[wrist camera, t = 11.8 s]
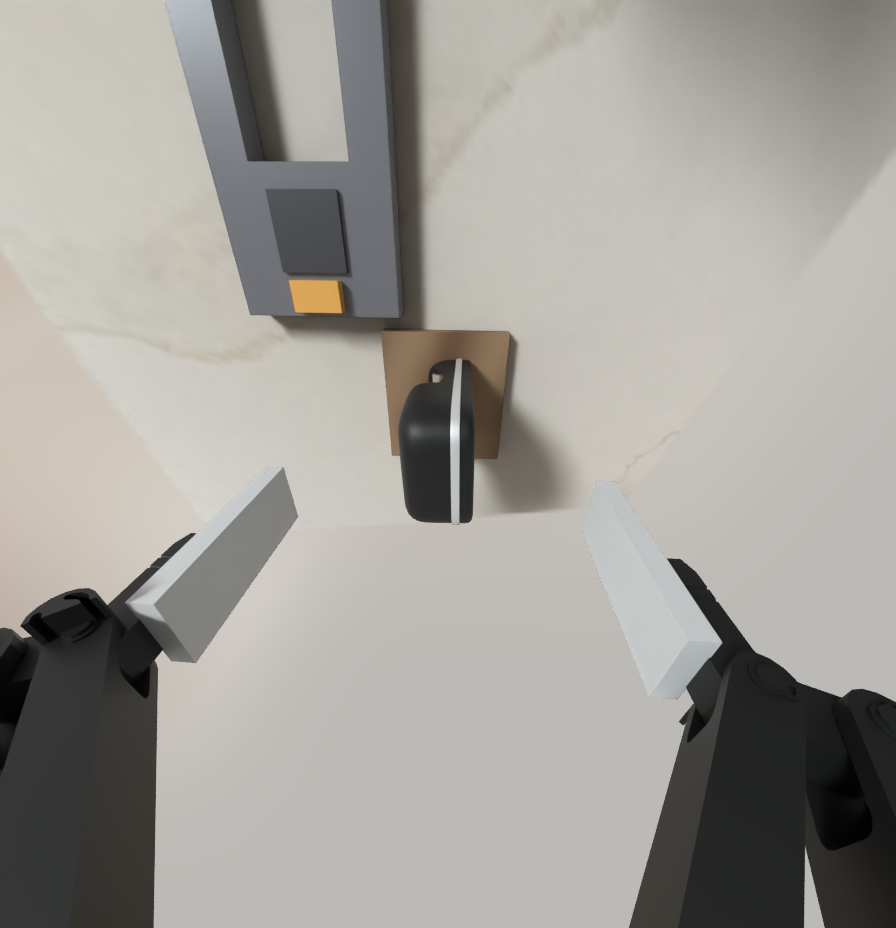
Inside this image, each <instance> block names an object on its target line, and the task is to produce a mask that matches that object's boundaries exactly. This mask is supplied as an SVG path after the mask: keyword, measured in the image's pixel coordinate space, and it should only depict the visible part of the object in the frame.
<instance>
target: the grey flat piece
mask: <svg viewBox="0 0 896 928" xmlns="http://www.w3.org/2000/svg"><path fill="white" fill-rule="evenodd" d="M164 2H165V5H166V9H167V13H168V16H169V20H170V23H171V27H172V31H173V34H174V38H175V42H176V45H177V49H178V53H179V56H180V60H181V64H182V67H183V71H184V75H185V78H186V82H187V85H188V89H189V93H190V96H191V100H192V104H193V107H194V111H195V115H196V118H197V122H198V126H199V129H200V133H201V137H202V140H203V144H204V148H205V151H206V155H207V158H208V162H209V166H210V169H211V173H212V177H213V180H214V184H215V188H216V191H217V195H218V199H219V202H220V206H221V210H222V213H223V217H224V220H225V224H226V228H227V231H228V235H229V239H230V242H231V246H232V250H233V253H234V257H235V261H236V264H237V268H238V272H239V275H240V279H241V282H242V286H243V290H244V293H245V297H246V301H247V304H248V308H249V312H250V315H272V316H327V317H383V318H399V317H401V316H402V315H404V307H403V288H402V270H401V251H400V232H399V213H398V194H397V176H396V157H395V138H394V119H393V101H392V82H391V63H390V44H389V25H388V7H387V0H332V10H333V19H334V28H335V37H336V46H337V56H338V65H339V74H340V83H341V93H342V102H343V111H344V120H345V129H346V139H347V148H348V157H349V162H269V161H265V160H264V155H263V150H262V145H261V141H260V136H259V131H258V126H257V121H256V117H255V112H254V107H253V102H252V97H251V92H250V88H249V83H248V78H247V73H246V68H245V64H244V59H243V54H242V49H241V44H240V39H239V35H238V30H237V25H236V20H235V15H234V11H233V6H232V1H231V0H164Z"/></svg>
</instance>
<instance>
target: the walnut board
mask: <svg viewBox="0 0 896 928" xmlns="http://www.w3.org/2000/svg"><path fill="white" fill-rule="evenodd" d="M381 335H382V346H383V358H384V369H385V381H386V392H387V403H388V415H389V426H390V437H391V449H392V455H393V456H400V450H399V440H398V424H399V419H400V416H401V412H402V409H403V406H404V404H405V401H406V398H407V396H408V395H409V393H410V391H411V390H412V389H413V387H414V386H416V385H418V384H421V383H428V376H429V371H430V369H431V367H432V366H433V365H434V364H436V363H438V362H440V361H445V360H456V359H462V360H469V361H470V362H471V365H472V380H473V393H474V410H475V452H474V458H485V459H497V456H498V446H499V436H500V427H501V417H502V407H503V397H504V387H505V378H506V368H507V358H508V348H509V339H510V333H509V332H508V331H463V330H411V329H384V330H382V331H381Z"/></svg>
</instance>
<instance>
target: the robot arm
mask: <svg viewBox="0 0 896 928" xmlns="http://www.w3.org/2000/svg"><path fill="white" fill-rule="evenodd" d="M297 518H298V515H297V511H296V508H295V504H294V501H293V498H292V494H291V491H290V488H289V484H288V481H287V478H286V474H285V471H284V467H270V466H266V467H265V468H264V469H263V470H262V471H261V472H260V473H259V474H258V475H257V476H255V477H254V478H253V479H252V480H251V481H250V482H249V483H248V484H247V485H246V486H245V487H244V488H243V489H242V490H241V491H240V492H239V493H238V494H237V495H236V496H235V497H234V498H233V499H232V500H231V501H230V502H229V503H228V504H226V505H225V506H224V507H223V508H222V509H221V510H220V511H219V512H218V513H217V514H216V515H215V516H214V517H213V518H212V519H211V520H210V521H209V522H208V523H207V524H206V525H205V526H204V527H203V528H202V529H201V530H200V531H198V533H191V534H189V535H187V536H186V537H184V538H182V539H181V540H179V541H177V542H176V543H174V544H173V545H172V546H171V547H170V548H169V549H168V550H167V551H165V552H164V553H163V554H162V555H161V558H158V559H157V560H156V561H155V562H154V563H153V564H152V565H151V566H150V568H147V569H146V570H145V571H144V572H143V573H142V574H141V575H140V576H138V578H136V579H135V580H134V581H133V582H132V583H131V584H130V585H129V586H128V587H127V588H126V589H124V590H123V591H122V592H121V593H120V594H119V595H118V596H117V597H116V598H115V599H114V600H113V601H111V602H110V603H109V604H108V605H106V603H105V602H104V601H103V600H102V599H101V597H100V596H99V595H98V594H97V593H96V591H94V590H92V589H89V588H84V589H76V590H72V591H68V592H65V593H63V594H60V595H58V596H56V597H54V598H51V599H50V600H48V601H47V602H45V603H43V604H42V605H40V606H39V607H37V608H36V609H35V610H34V611H33V612H31V613H30V614H29V615H28V616H27V617H26V618H25V620H24V621H23V622H22V624H21V627H22V628H24V630H26V631H27V632H28V633H29V634H30V635H31V636H32V637H27V638H21V637H20V636H19V635H18V634H17V633H16V632H14V631H13V630H12V629H7V628H0V928H153V924H154V922H153V921H154V866H155V865H154V863H155V806H156V749H157V748H156V746H157V743H156V742H157V689H158V667H157V664H156V662H155V661H154V660H155V659H156V657H157V656H158V655H159V654H160V652H161V651H162V650H163V651H164V652H165V654H166V655H167V656H168V657H169V659H170V660H171V661H178V662H191V663H196V662H197V661H198V659H199V658H200V656H201V655H202V654H203V652H204V651H205V649H206V648H207V646H208V645H209V644H210V642H211V641H212V639H213V638H214V636H215V635H216V633H217V632H218V630H219V629H220V628H221V626H222V625H223V623H224V622H225V620H226V619H227V618H228V616H229V615H230V613H231V612H232V610H233V609H234V608H235V606H236V605H237V603H238V602H239V600H240V599H241V597H242V596H243V595H244V593H245V592H246V590H247V589H248V588H249V586H250V585H251V583H252V582H253V581H254V579H255V578H256V576H257V575H258V573H259V572H260V570H261V569H262V568H263V566H264V565H265V563H266V562H267V561H268V559H269V557H270V556H271V555H272V553H273V552H274V551H275V549H276V548H277V546H278V544H279V543H280V542H281V541H282V539H283V538H284V536H285V535H286V533H287V532H288V530H289V529H290V528H291V526H292V525H293V523H294V522H295V520H296V519H297ZM581 532H582V534H583V537H584V539H585V542H586V545H587V547H588V549H589V552H590V554H591V557H592V559H593V561H594V564H595V566H596V569H597V571H598V574H599V576H600V579H601V581H602V583H603V586H604V588H605V591H606V593H607V595H608V598H609V600H610V603H611V605H612V608H613V610H614V613H615V615H616V618H617V620H618V622H619V625H620V627H621V629H622V632H623V634H624V637H625V639H626V642H627V644H628V647H629V649H630V652H631V654H632V656H633V659H634V661H635V663H636V666H637V669H638V671H639V673H640V676H641V678H642V681H643V683H644V686H645V688H646V690H647V693H648V695H649V697H653V698H666V699H667V698H668V699H678V698H679V697H680V696H681V694H682V693H683V692H684V691H685V690H686V688H687V690H688V692H689V694H690V696H691V698H692V700H693V702H694V704H693V705H692V706H691V708H690V709H689V710H688V711H687V712H686V713H685V715H684V716H683V717H682V718H681V720H680V721H679V722H680V723H681V724H682V725H684V724H685V723H686V725H685V729H684V732H683V736H682V739H681V743H680V746H679V750H678V754H677V757H676V761H675V764H674V768H673V772H672V775H671V779H670V782H669V786H668V789H667V794H666V797H665V801H664V804H663V807H662V811H661V815H660V818H659V822H658V826H657V829H656V833H655V836H654V840H653V843H652V847H651V850H650V854H649V858H648V861H647V865H646V868H645V872H644V876H643V879H642V883H641V887H640V890H639V894H638V898H637V901H636V904H635V909H634V912H633V915H632V919H631V922H630V926H629V928H804V882H805V879H804V878H805V846H806V851H807V855H808V859H809V863H810V867H811V872H812V876H813V880H814V884H815V888H816V893H817V897H818V901H819V905H820V910H821V914H822V918H823V922H824V926H825V928H896V702H894V701H892V700H890V699H888V698H886V697H884V696H882V695H880V694H878V693H875V692H872V691H868V690H865V689H856V690H851V691H850V692H849V693H847V694H846V695H845V696H843V697H842V698H841V697H838V696H835V695H833V694H830V693H827V692H824V691H821V690H818V689H815V688H812V687H810V686H806V685H803V684H801V683H799V682H797V681H796V680H795V678H793V677H792V676H791V675H790V674H789V673H788V672H787V671H786V670H785V669H784V668H783V667H781V666H780V665H778V664H777V663H775V662H774V661H772V660H771V659H769V658H767V657H765V656H762V655H760V654H758V653H756V652H755V651H754V650H753V649H752V648H751V646H750V645H749V644H748V642H747V641H746V640H745V638H744V637H743V635H742V634H741V633H740V631H739V630H738V629H737V627H736V626H735V624H734V623H733V622H732V620H731V619H730V618H729V616H728V615H727V614H726V612H725V611H724V610H723V608H722V607H721V605H720V604H719V603H718V602H716V599H715V597H714V596H713V595H712V593H711V592H710V590H707V586H706V585H705V584H704V582H703V581H702V579H701V578H700V577H699V576H698V574H697V573H696V572H695V571H694V570H693V569H692V568H690V567H689V566H688V565H687V564H686V563H684V562H683V561H682V560H681V559H667V558H666V557H665V556H664V554H663V553H662V551H661V550H660V548H659V547H658V545H657V544H656V542H655V541H654V539H653V538H652V536H651V534H650V533H649V531H648V530H647V528H646V527H645V525H644V524H643V522H642V521H641V520H640V518H639V516H638V515H637V513H636V512H635V510H634V509H633V507H632V506H631V504H630V503H629V501H628V500H627V498H626V497H625V495H624V494H623V492H622V491H621V489H620V488H619V486H618V485H617V483H616V482H610V481H596V483H595V486H594V490H593V493H592V496H591V500H590V503H589V507H588V510H587V513H586V517H585V520H584V523H583V527H582V530H581Z"/></svg>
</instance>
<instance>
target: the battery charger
mask: <svg viewBox="0 0 896 928" xmlns="http://www.w3.org/2000/svg"><path fill="white" fill-rule="evenodd" d="M398 440H399V450H400V460H401V470H402V479H403V489H404V498H405V505H406V508H407V511H408V513H409V515H410V516H411V517H412V518H414V519H416V520H418V521H420V522H430V523H452V525H460V523H468V522H470V521H471V520H472V515H473V487H474V452H475V410H474V393H473V380H472V365H471V362H470V361H469V360H462V359H456V360H445V361H440V362H438V363H436V364H434V365H433V366H432V367H431V369H430V371H429V376H428V383H421V384H418V385H416V386H414V387H413V389H412V390H411V391H410V393H409V395H408V396H407V398H406V401H405V404H404V406H403V409H402V412H401V416H400V419H399V424H398Z"/></svg>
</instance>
